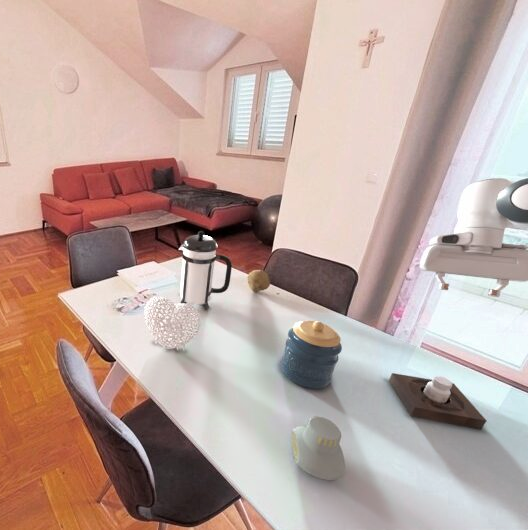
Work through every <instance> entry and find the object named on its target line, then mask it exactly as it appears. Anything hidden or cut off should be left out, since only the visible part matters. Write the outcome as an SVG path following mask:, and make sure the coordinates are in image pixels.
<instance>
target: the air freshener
mask: <svg viewBox="0 0 528 530" xmlns="http://www.w3.org/2000/svg"><path fill="white" fill-rule="evenodd" d="M341 439H342V433H341V430H340V428H339V427H338V426H337V424H335V423H334V422H333V421H331V420H329V419H328V418H325V417H324V416H323V417H322V416H312V417H310V418H309V419H308V421H307V424H306V425H300V426H296V427H295V428H293V429H292V430H291V432H290V444H291V453H292V455H293V459H294V462H295V463H296V465H297V466H298V467H299V468H300V469H301V470H303V471H304V472H306V473H307V474H309V475H310V476H312V477H315V478H317V479H321V480H324V481H333V480H338V479H339V478H341V477H343V476H344V475H345V473H346V463H345V457H344V453H343V449H342V447H341V445H340V442H341Z"/></svg>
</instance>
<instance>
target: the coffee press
mask: <svg viewBox="0 0 528 530" xmlns="http://www.w3.org/2000/svg"><path fill="white" fill-rule="evenodd" d="M217 250H218V244H217V241H216V240H215V239H214V238H213V237H211V236H208V235H205V231H203V230H200V231H198V232H197V234H194V235H189V236H187V237H186V238H185V239H184V240H183V242H182V244H181V245H180V247H178V251H181V252H182V253H181V254H182V255H181V257H182V262H181V263H182V264H181V277H180V287H179V289H180V290H179V296H180V298H181V301H180V302H179V303H184V304H189V305H197V306H198V305H199V306H200V305H202V306H203V308H204V310H208V309H209V308H210V305H209V301H210V299H211V295H212V294H222V293H224V292H226V291H227V290H228V288H229V286H230V282H231V275H232V267H233V266H232V261H231V259H230V258H229V257H228V256H226V255H224V254H217ZM216 260H220V261H223V262H225V264H226V271H225V279H224V282H223V286H221V287H220V288H214V287H212V285H213V279H214V277H213V276H214V271H215V269H214V268H215V263H216Z"/></svg>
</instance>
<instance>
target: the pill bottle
mask: <svg viewBox="0 0 528 530" xmlns="http://www.w3.org/2000/svg"><path fill="white" fill-rule="evenodd" d="M431 380H432V382H428V383H427V385H426V387H425V389H424V391H423V394H424V395H425V396H426V397H427V398H429V399H431V400H433V401H435V402H438V403H442V404H445V403H446V401H447V399H448V398H449V396H450V394H451V392H450V389H451V387H452V383H453V382H452V381H451V380H450V379H448V378H446V377H444V376H442V375H434V376H433V378H431Z"/></svg>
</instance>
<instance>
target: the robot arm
mask: <svg viewBox="0 0 528 530" xmlns="http://www.w3.org/2000/svg"><path fill="white" fill-rule="evenodd" d="M459 199H460V200H459V204H458V207H457V213H456V217H457V223H456V225H455V227H454V231H453V233H448V234H442V235H437V236H435V237H433V238H431V239H430V240H429V241H428V245H429V246H428V247H427V248H426V249H425V250H424V251H423V253H422V255H421V258H420V262H419V269H420V270H421V271H422V272H429V273H435V279H436V280H437V282H438V283H439V286H438V290H439V291H449V287H450V283H446V282H445V280H444V278H445V277H446V275H456V276H465V277H473V278H482V279H489V280H490V279H491V280H496V284H498V285H497V286H496V287H495V288H494V289H493V288H489V289H488V293H487V296H488V297H493V298H500V296H501V292H502V291H503V289H505V288H506V287H507V286H508V285H509V283H510V282H518V283H524V282H528V245H526V244H513V243H503V240H504V235H505V229H514V230H521V231H528V177H527V178H526V177H525V178H522V179H520V180H517V181H514V182H513V181H511V180H508V179H506V178H502V177H501V178H498V177H497V178H487V179H482V180H478V181H475V182H473V183H470V184H469V185H468V186H466V187H465V189H463V192H462V194H461V196H460V198H459Z"/></svg>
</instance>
